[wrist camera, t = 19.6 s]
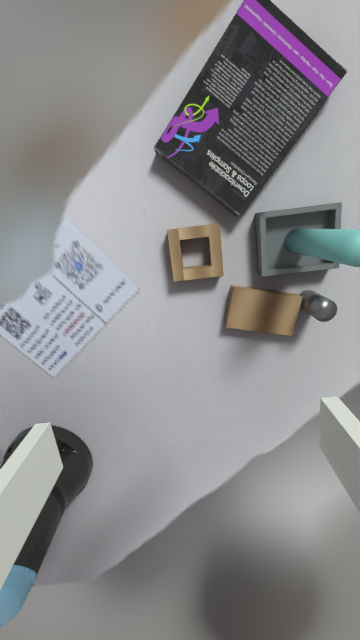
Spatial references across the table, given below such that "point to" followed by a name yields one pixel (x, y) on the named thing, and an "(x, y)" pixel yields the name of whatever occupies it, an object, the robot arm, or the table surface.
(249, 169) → the box
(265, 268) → the tray
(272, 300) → the tan block
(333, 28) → the table surface
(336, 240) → the dowel
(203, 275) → the socket block
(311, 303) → the bench dog
